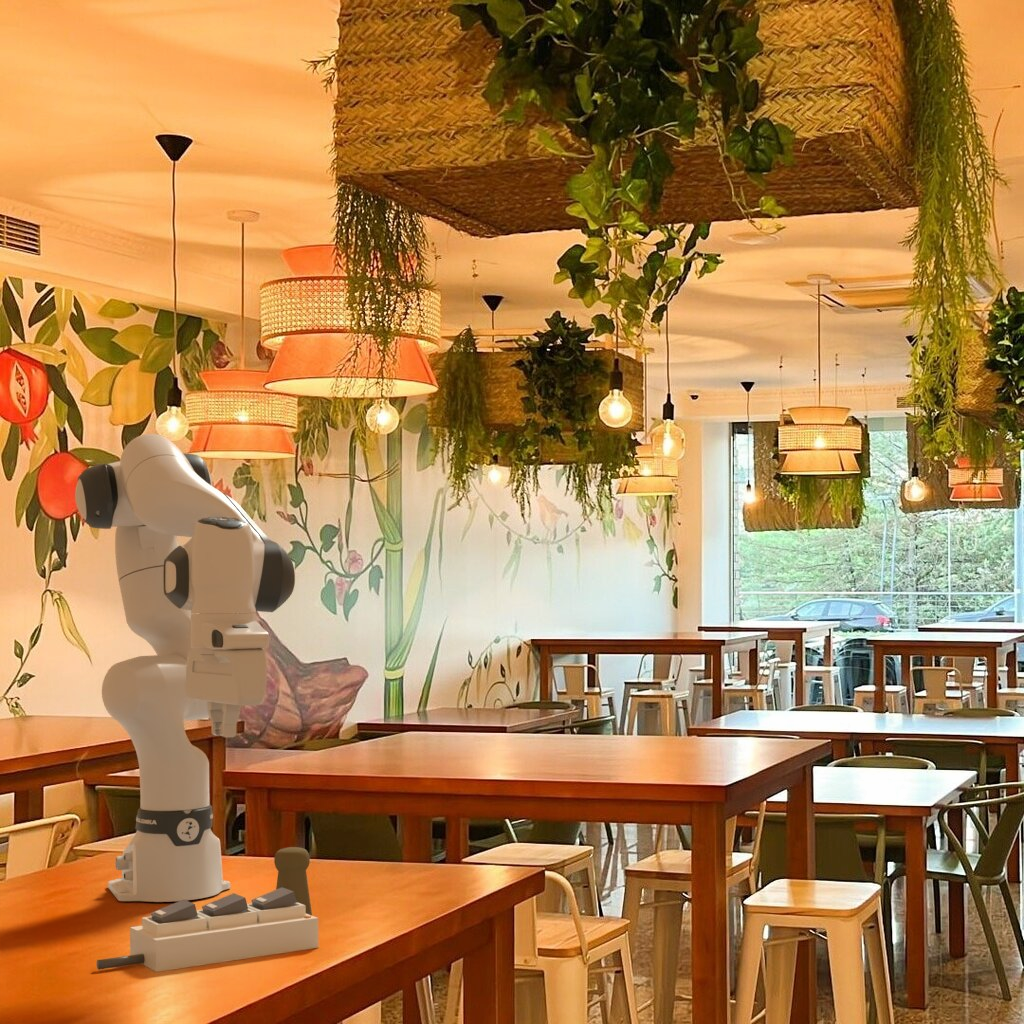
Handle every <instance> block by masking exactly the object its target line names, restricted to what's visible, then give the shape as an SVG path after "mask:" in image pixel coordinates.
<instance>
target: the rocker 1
mask: <svg viewBox="0 0 1024 1024" xmlns="http://www.w3.org/2000/svg"><path fill="white" fill-rule="evenodd" d="M151 916H152V920H153V921H155V922H157V923H159V924H162V923H170V922H177V921H185V920H188V919H191V918H193V917H195V916H198V914H197V907H196V904H195V903H194V902H190V900H181V901H175V902H174V903H171V904H169V905H167V906H163V907H162V908H160V909H157V910H154V911H152V912H151V913H150V917H151Z"/></svg>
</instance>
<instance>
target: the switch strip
mask: <svg viewBox="0 0 1024 1024" xmlns="http://www.w3.org/2000/svg"><path fill="white" fill-rule="evenodd" d="M247 906H248V909H247V910H244V911H242V912H240V913H237V914H230V915H223V916H215V917H211V916H208V915H206V914H204V913H203V909H200V910H199V909H198V910H197V909H196V911H197V914H198V916H195V917H193V918H191V919H188V920H185V921H177V922H170V923H162V924H159V923H157V922H155V921H153V920H152V916H151V915H150V916H146V917H145V916H144V917H141V925H137V926H130V927H129V932H130V933H129V936H130V937H129V939H130V940H129V945H130V946H129V951H130V952H129V955H124V956H117V957H109V958H103V959H102V958H101V959H97V960H96V969H97V970H104V969H106V970H107V969H111V968H113V969H114V968H119V967H125V966H126V967H127V966H132V965H139V964H141V965H143V966H145V967H147V968H148V969H150V970H152V971H154V972H157V973H158V972H165V971H171V970H178V969H185V968H192V967H197V966H198V967H199V966H204V965H205V966H206V965H211V964H212V965H213V964H217V963H218V964H219V963H225V962H231V961H239V960H244V959H252V958H259V957H265V956H273V955H278V954H284V953H285V954H286V953H291V952H297V951H303V950H304V951H305V950H311V949H319V917H316V916H314V915H312V916H311V915H309V914H306V906H305V905H303V904H301V903H298V902H297V903H295V904H292V905H290V906H288V907H283V908H275V909H268V910H260V909H257V908H254V907H253V905H252V903H247Z"/></svg>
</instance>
